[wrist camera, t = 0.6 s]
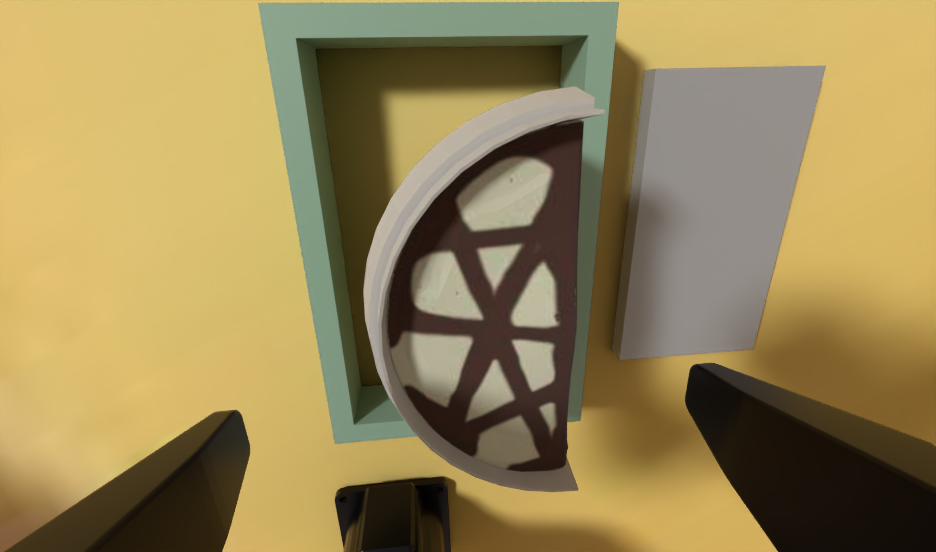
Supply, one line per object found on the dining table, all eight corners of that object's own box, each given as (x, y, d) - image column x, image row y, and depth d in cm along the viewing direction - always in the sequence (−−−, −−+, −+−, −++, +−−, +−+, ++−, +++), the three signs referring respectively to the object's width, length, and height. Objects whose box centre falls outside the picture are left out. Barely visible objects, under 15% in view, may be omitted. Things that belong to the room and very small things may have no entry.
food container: (366, 99, 18) (313, 95, 9) (512, 93, 19) (607, 83, 9) (397, 354, 23) (383, 527, 13) (513, 343, 23) (577, 502, 14)
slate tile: (740, 340, 25) (753, 349, 24) (611, 350, 24) (619, 360, 23) (806, 67, 19) (825, 65, 19) (644, 70, 19) (655, 68, 18)
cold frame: (561, 384, 24) (580, 420, 22) (344, 403, 23) (335, 443, 21) (587, 17, 18) (618, 2, 15) (284, 19, 17) (258, 3, 14)
